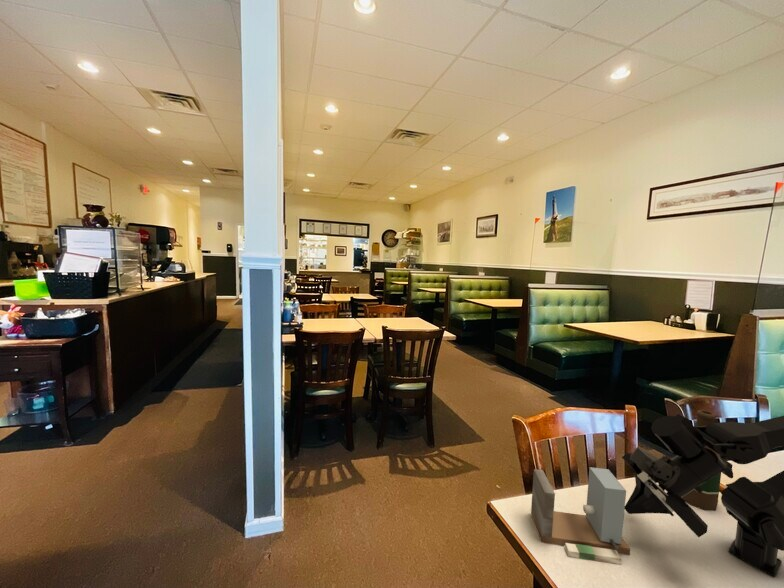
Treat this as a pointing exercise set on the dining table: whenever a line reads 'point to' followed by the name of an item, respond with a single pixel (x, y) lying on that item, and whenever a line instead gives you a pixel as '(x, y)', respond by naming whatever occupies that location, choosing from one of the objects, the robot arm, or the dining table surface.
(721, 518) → the dining table surface
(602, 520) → the gauge carriage
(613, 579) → the dining table surface
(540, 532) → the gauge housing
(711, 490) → the beer bottle
